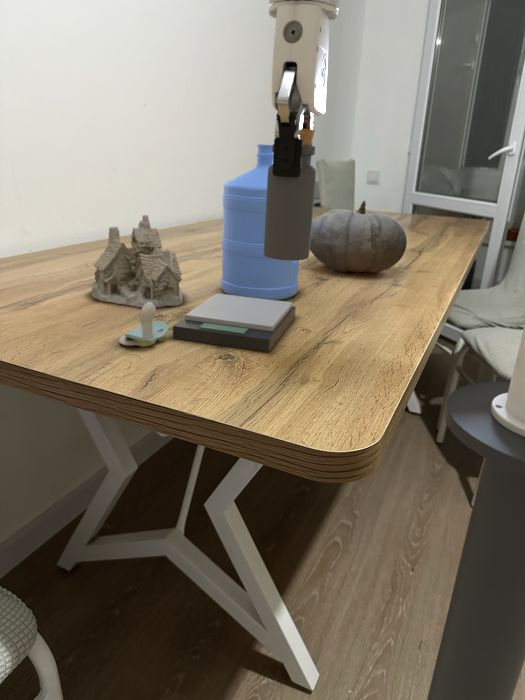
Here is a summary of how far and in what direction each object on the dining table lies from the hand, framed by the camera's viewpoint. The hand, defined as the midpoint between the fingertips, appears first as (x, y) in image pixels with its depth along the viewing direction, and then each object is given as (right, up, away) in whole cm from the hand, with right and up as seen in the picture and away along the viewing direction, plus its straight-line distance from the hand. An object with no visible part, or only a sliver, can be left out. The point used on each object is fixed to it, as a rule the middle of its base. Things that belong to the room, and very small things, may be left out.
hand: (292, 174), depth 62 cm
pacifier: (-21, -20, +14) cm, 32 cm away
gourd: (+19, -1, +69) cm, 71 cm away
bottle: (-1, -9, +4) cm, 10 cm away
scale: (-7, -18, +22) cm, 29 cm away
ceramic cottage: (-27, -11, +36) cm, 46 cm away
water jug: (-4, -10, +44) cm, 45 cm away
